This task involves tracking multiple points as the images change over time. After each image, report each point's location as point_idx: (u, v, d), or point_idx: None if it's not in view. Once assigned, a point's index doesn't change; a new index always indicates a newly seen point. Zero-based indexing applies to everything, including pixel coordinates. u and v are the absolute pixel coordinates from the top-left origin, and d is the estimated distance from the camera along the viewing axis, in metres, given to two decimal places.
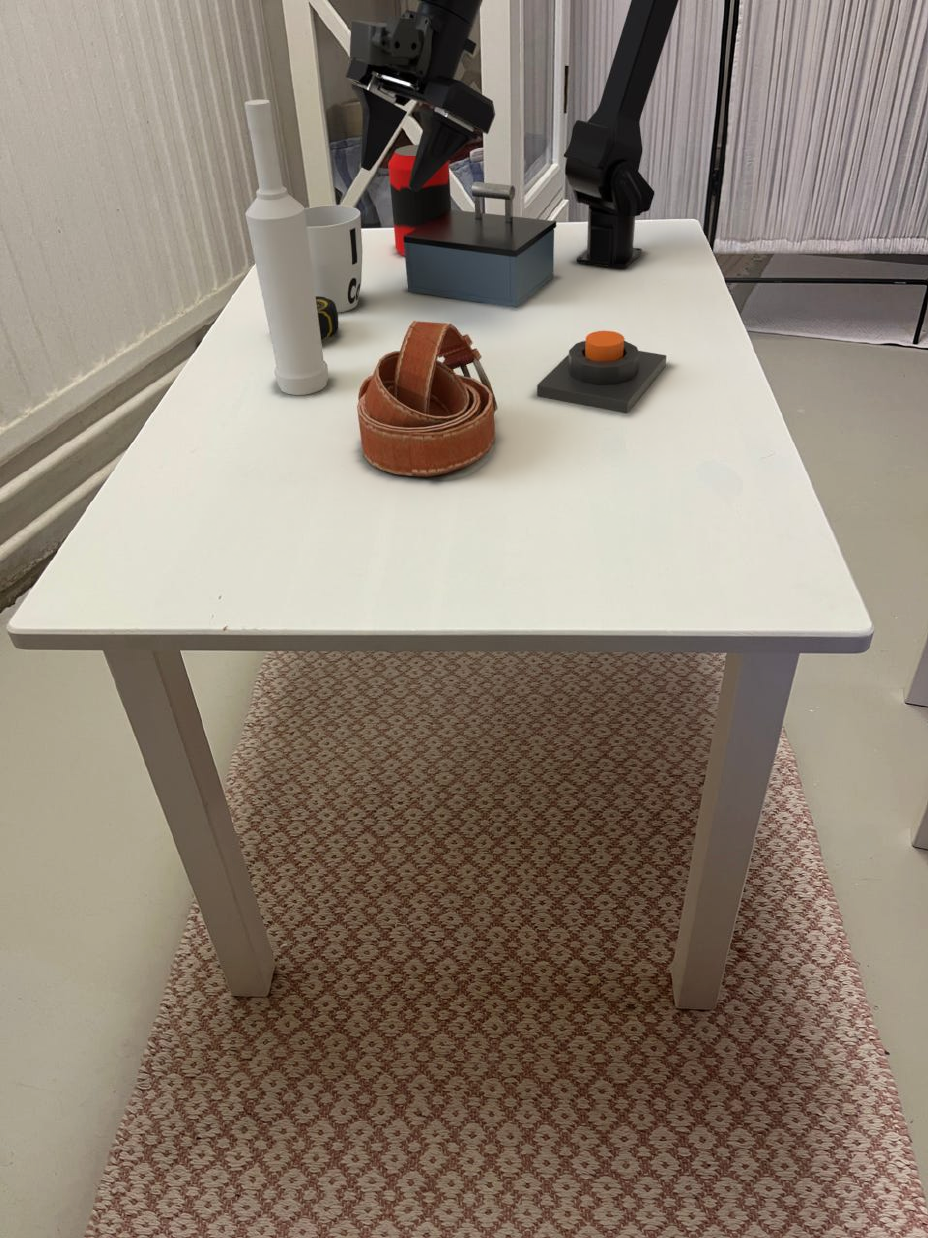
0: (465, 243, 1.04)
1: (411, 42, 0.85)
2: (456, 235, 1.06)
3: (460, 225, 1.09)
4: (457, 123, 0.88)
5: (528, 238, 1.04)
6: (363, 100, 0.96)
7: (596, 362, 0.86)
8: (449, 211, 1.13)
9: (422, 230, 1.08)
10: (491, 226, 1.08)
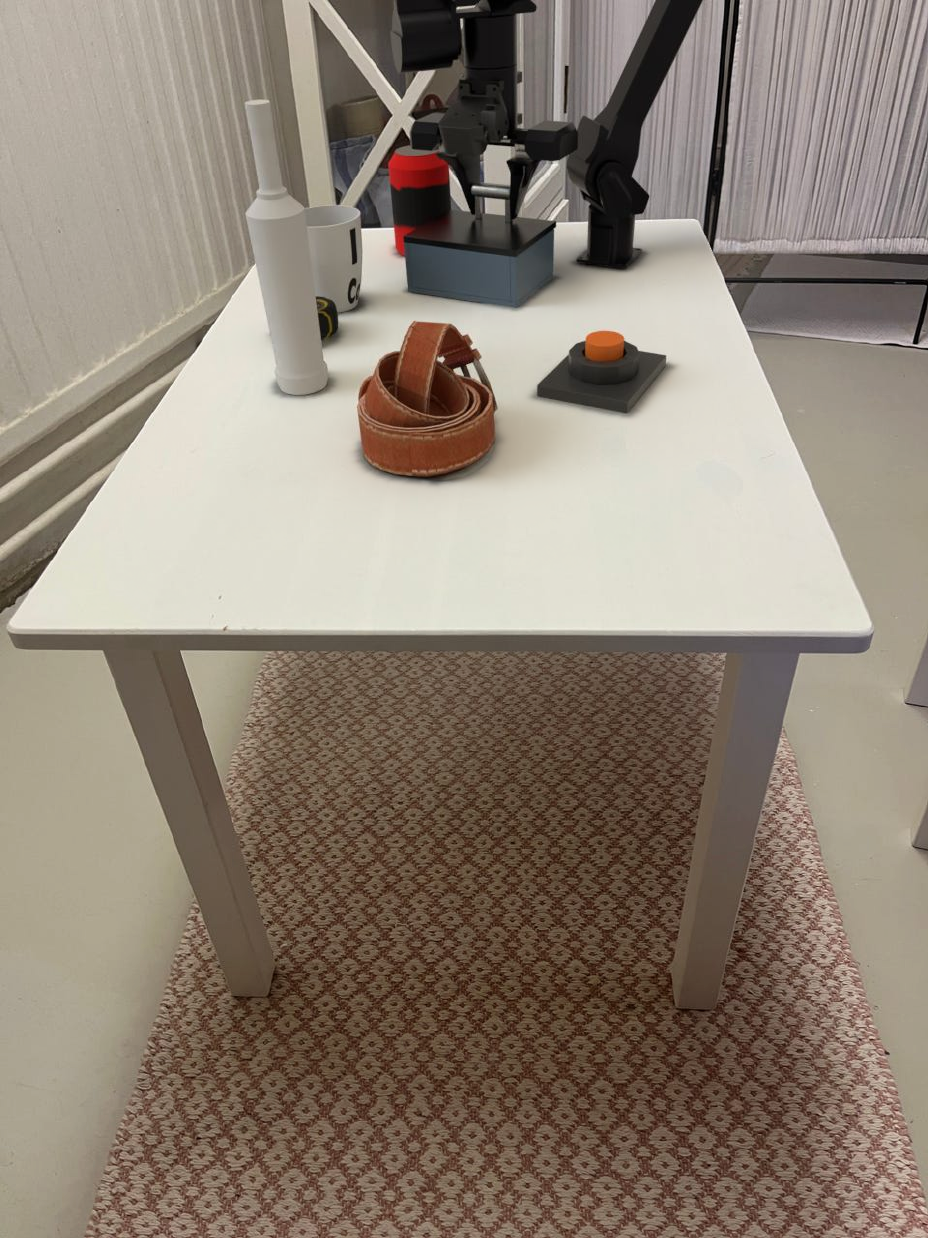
0: (465, 243, 1.04)
1: (504, 121, 0.97)
2: (456, 235, 1.06)
3: (460, 225, 1.09)
4: None
5: (528, 238, 1.04)
6: (455, 164, 1.06)
7: (596, 362, 0.86)
8: (449, 211, 1.13)
9: (422, 230, 1.08)
10: (491, 226, 1.08)
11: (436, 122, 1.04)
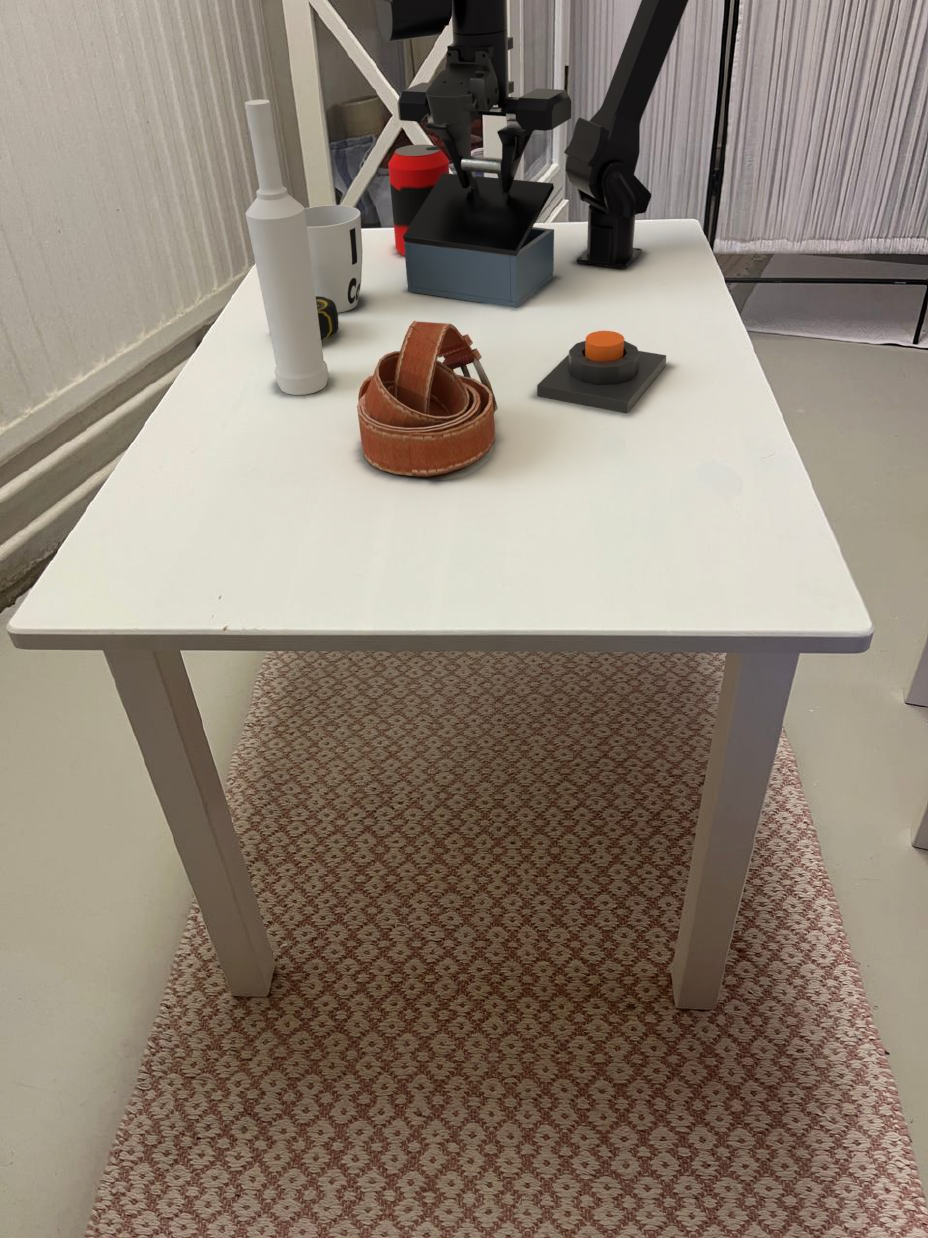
0: (464, 243, 1.03)
1: (494, 89, 0.94)
2: (454, 228, 1.05)
3: (457, 207, 1.07)
4: None
5: (526, 224, 1.03)
6: (444, 135, 1.02)
7: (596, 362, 0.86)
8: (443, 178, 1.10)
9: (420, 223, 1.07)
10: (488, 203, 1.06)
11: (424, 92, 1.01)
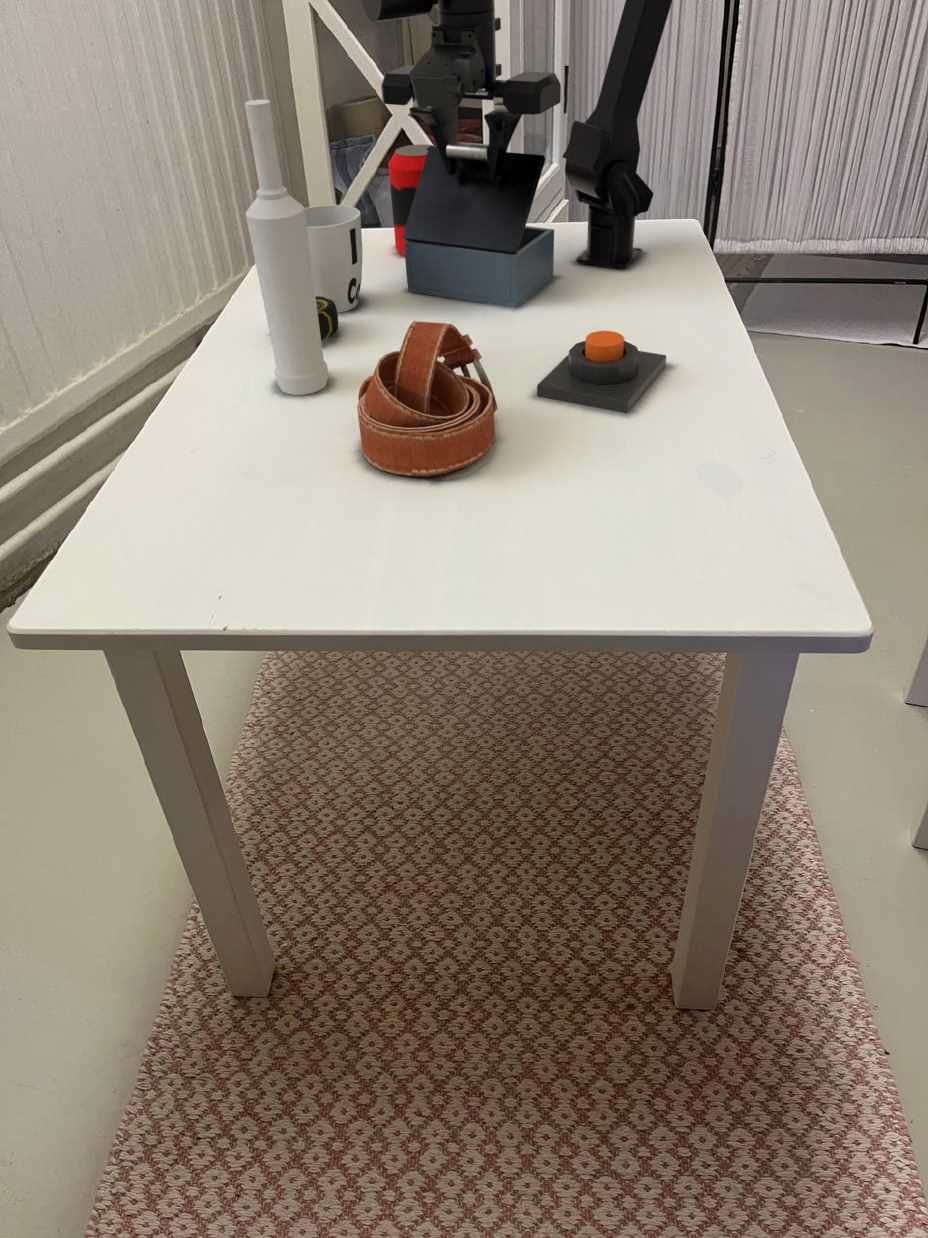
0: (464, 244, 1.03)
1: (480, 71, 0.90)
2: (451, 224, 1.04)
3: (450, 194, 1.05)
4: None
5: (522, 215, 1.01)
6: (430, 119, 0.99)
7: (596, 362, 0.86)
8: (431, 154, 1.06)
9: (416, 218, 1.06)
10: (481, 187, 1.03)
11: (409, 74, 0.97)
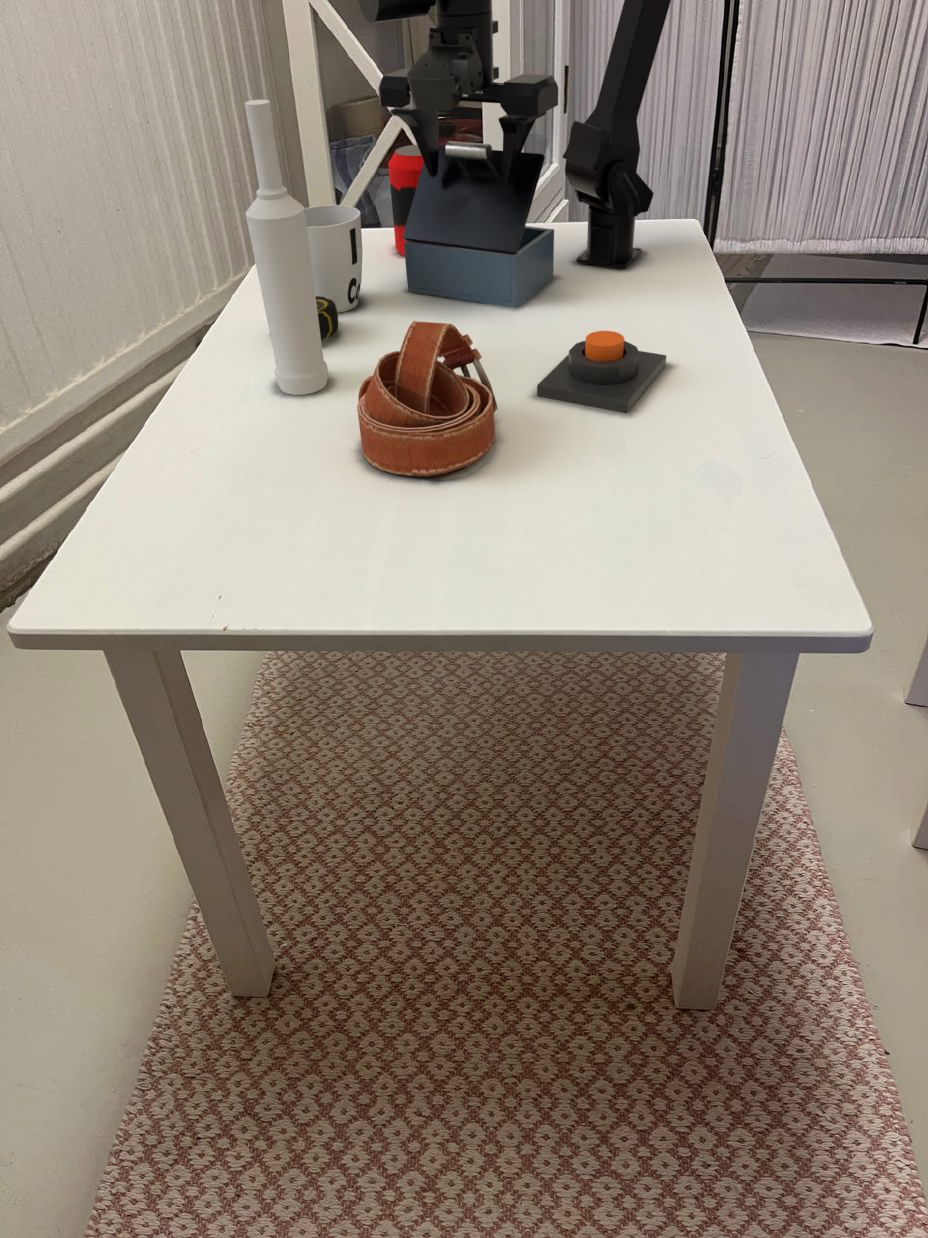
0: (464, 244, 1.03)
1: (478, 72, 0.90)
2: (451, 224, 1.04)
3: (450, 194, 1.05)
4: None
5: (522, 215, 1.01)
6: (410, 121, 0.99)
7: (596, 362, 0.86)
8: None
9: (416, 218, 1.06)
10: (480, 187, 1.03)
11: (406, 76, 0.97)
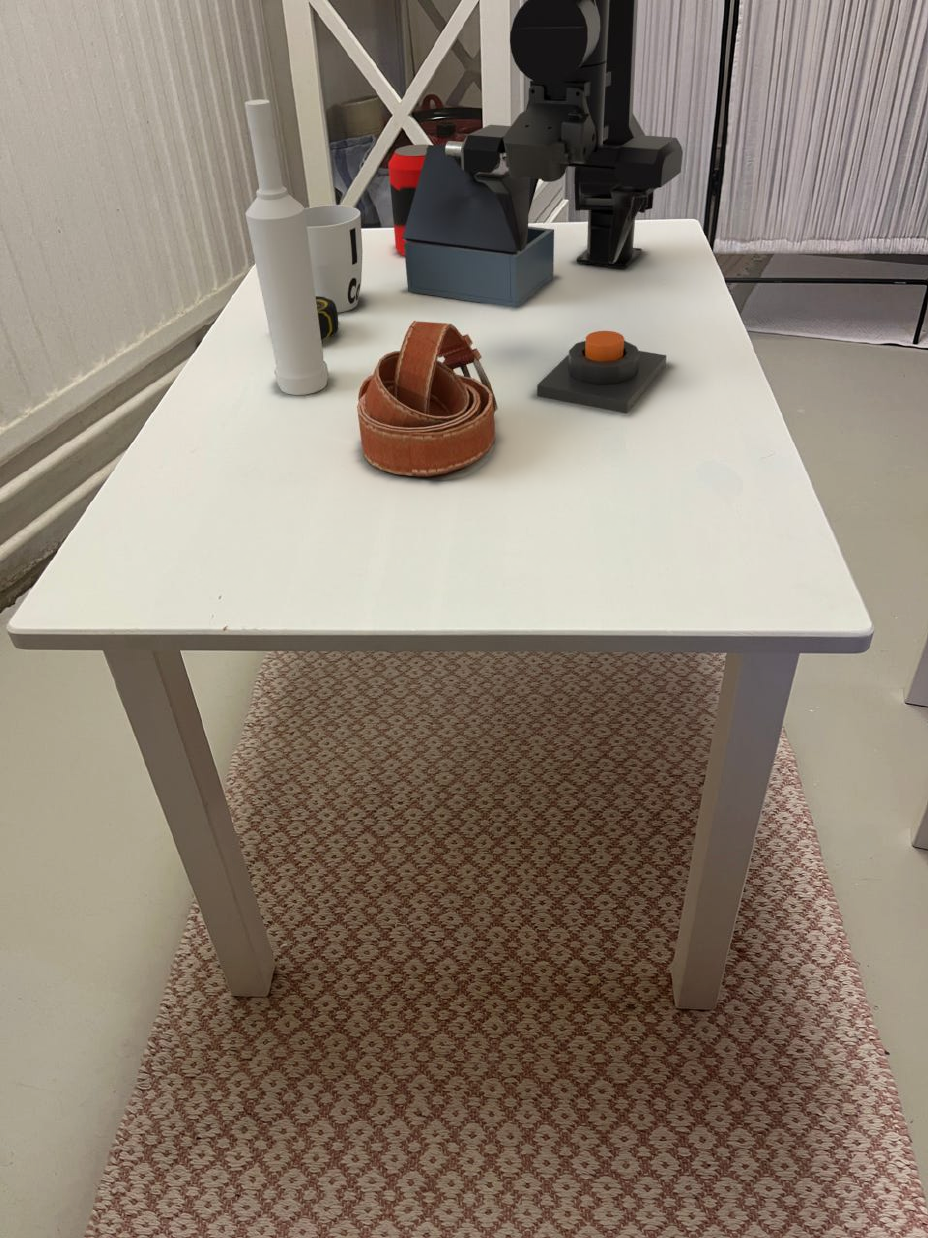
0: (464, 244, 1.03)
1: (591, 136, 0.73)
2: (451, 224, 1.04)
3: (450, 194, 1.05)
4: None
5: None
6: (499, 188, 0.83)
7: (596, 362, 0.86)
8: (430, 153, 1.06)
9: (416, 218, 1.06)
10: (480, 187, 1.03)
11: (496, 136, 0.81)
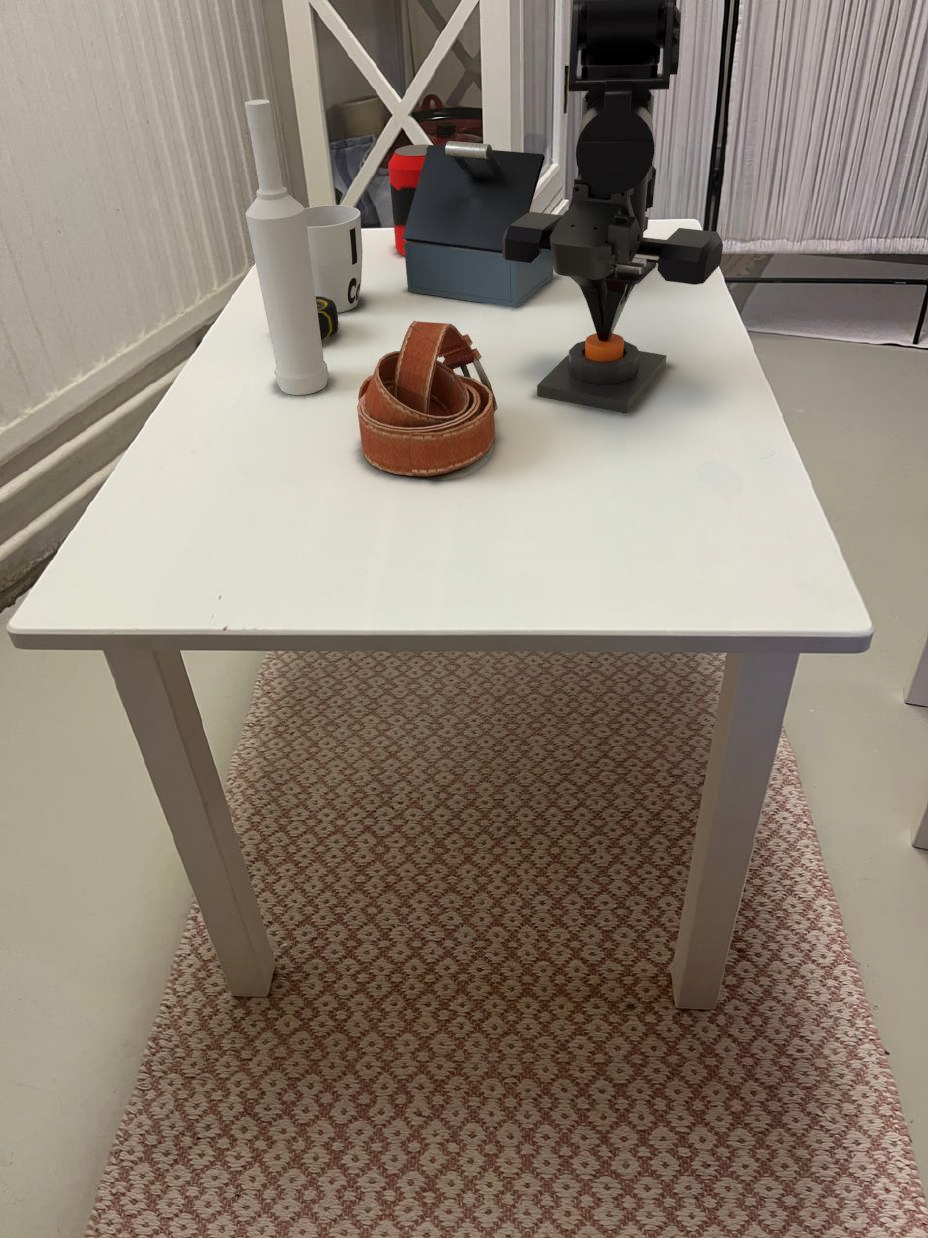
0: (464, 244, 1.03)
1: (637, 237, 0.75)
2: (451, 224, 1.04)
3: (450, 194, 1.05)
4: (646, 270, 0.81)
5: (522, 215, 1.01)
6: (584, 282, 0.83)
7: (596, 362, 0.86)
8: (430, 153, 1.06)
9: (416, 218, 1.06)
10: (480, 187, 1.03)
11: (538, 228, 0.82)
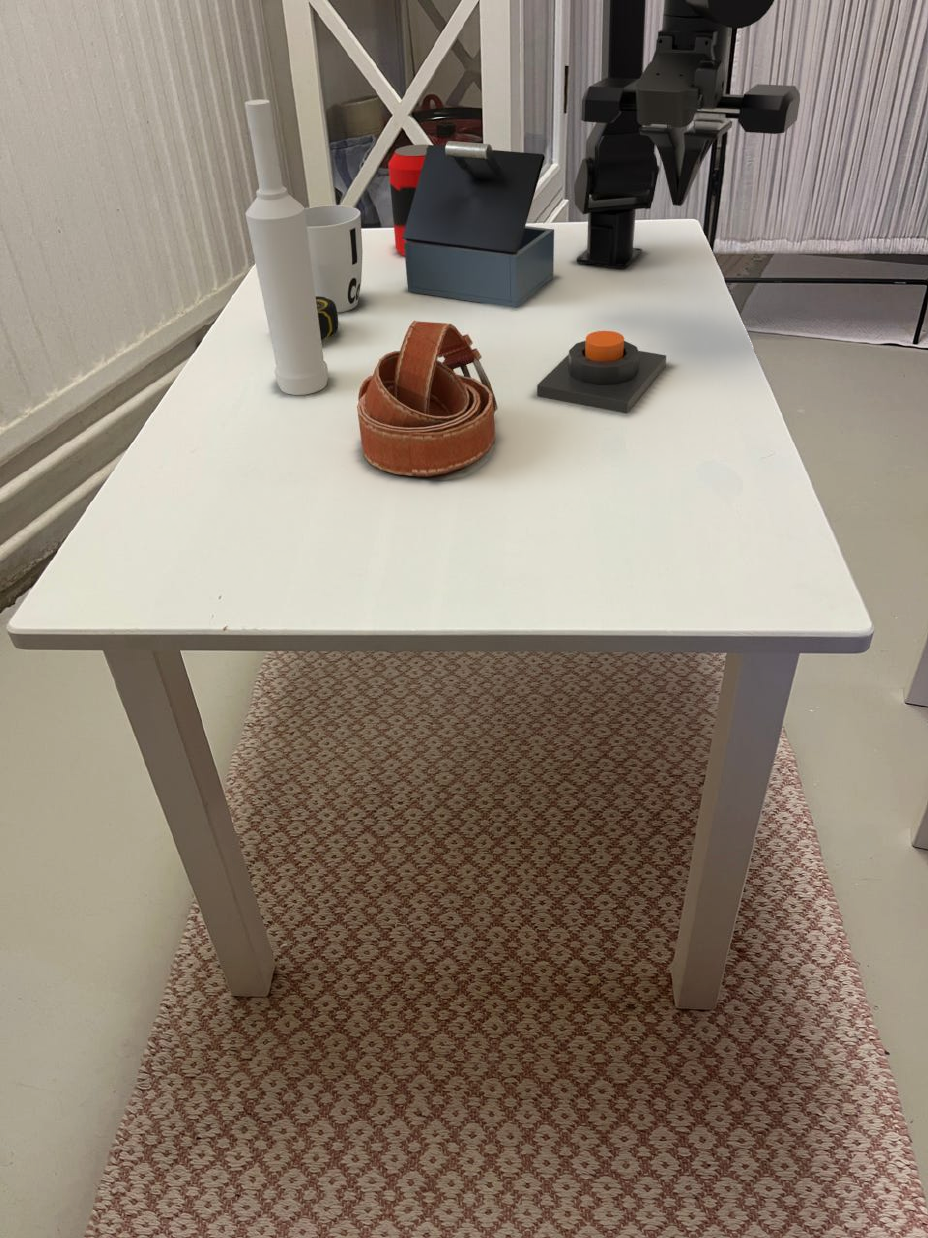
0: (464, 244, 1.03)
1: (721, 83, 0.77)
2: (451, 224, 1.04)
3: (450, 194, 1.05)
4: (724, 127, 0.84)
5: (522, 215, 1.01)
6: (663, 141, 0.85)
7: (596, 362, 0.86)
8: (430, 153, 1.06)
9: (416, 218, 1.06)
10: (480, 187, 1.03)
11: (618, 87, 0.84)
